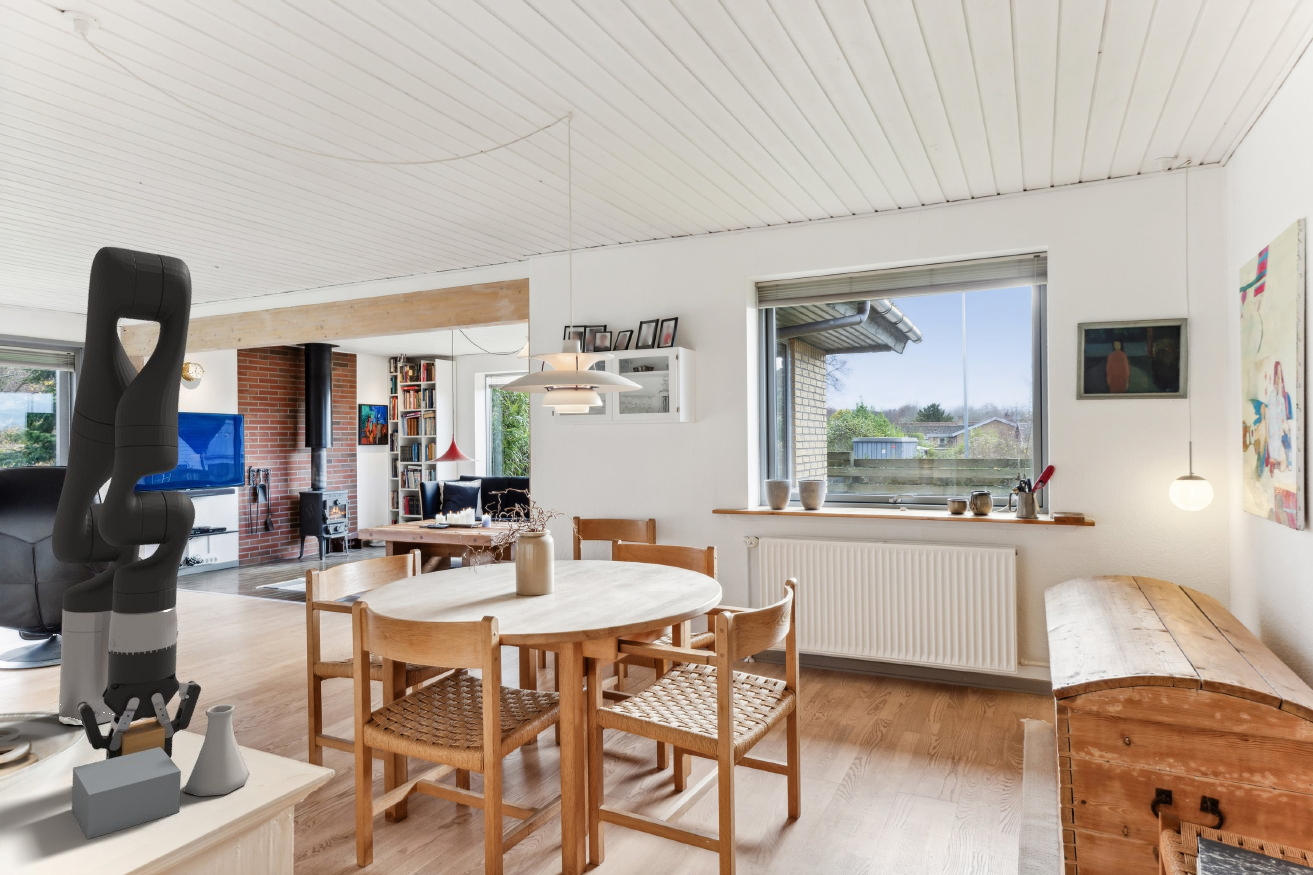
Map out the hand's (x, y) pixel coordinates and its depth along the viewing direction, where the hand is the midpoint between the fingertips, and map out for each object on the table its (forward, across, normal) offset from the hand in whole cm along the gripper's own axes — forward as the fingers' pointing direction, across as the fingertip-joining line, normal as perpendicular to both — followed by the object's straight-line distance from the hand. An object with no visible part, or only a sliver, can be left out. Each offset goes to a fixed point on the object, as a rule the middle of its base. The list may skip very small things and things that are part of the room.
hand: (138, 768), depth 100 cm
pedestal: (+1, +4, +10) cm, 11 cm away
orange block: (+1, 0, 0) cm, 1 cm away
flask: (+1, -6, +10) cm, 12 cm away
